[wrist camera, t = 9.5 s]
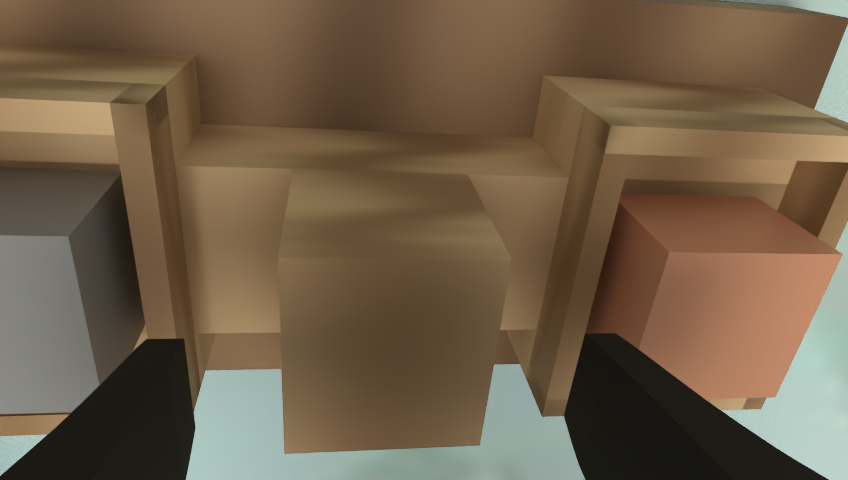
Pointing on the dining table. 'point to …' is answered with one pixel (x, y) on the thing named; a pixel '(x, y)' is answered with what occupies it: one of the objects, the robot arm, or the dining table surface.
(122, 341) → the light grey cube
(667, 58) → the dock
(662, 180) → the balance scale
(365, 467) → the dining table surface
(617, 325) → the salmon orange block
